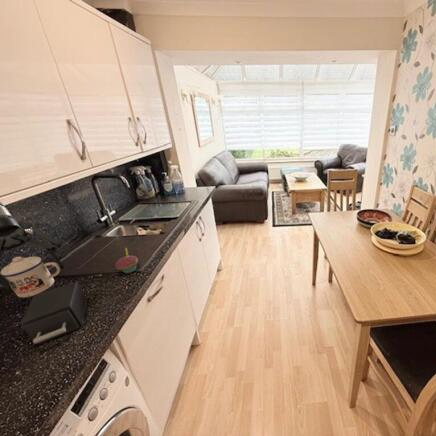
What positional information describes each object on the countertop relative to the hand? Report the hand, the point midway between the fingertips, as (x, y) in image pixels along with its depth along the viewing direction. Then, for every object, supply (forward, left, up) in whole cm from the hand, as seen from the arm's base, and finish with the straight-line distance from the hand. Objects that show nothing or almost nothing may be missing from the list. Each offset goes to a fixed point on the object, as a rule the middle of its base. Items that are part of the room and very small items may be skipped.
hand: (37, 278), depth 73 cm
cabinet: (-2, +2, -20) cm, 20 cm away
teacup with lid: (-2, +2, -5) cm, 5 cm away
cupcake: (+8, +28, -20) cm, 35 cm away
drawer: (0, -2, -19) cm, 19 cm away
